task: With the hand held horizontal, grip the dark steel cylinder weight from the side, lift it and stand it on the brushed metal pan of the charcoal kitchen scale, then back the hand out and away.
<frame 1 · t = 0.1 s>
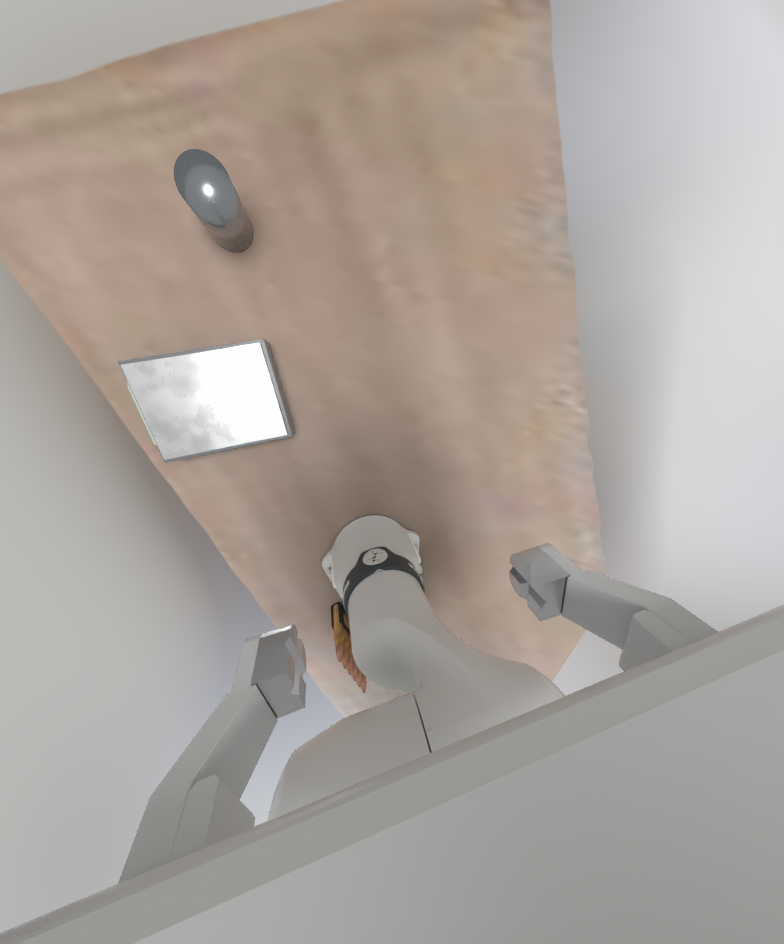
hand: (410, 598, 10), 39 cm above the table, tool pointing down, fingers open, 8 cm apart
ammunition clip: (347, 620, 58), on the table
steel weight: (231, 228, 36), on the table
kitchen scale: (223, 400, 41), on the table
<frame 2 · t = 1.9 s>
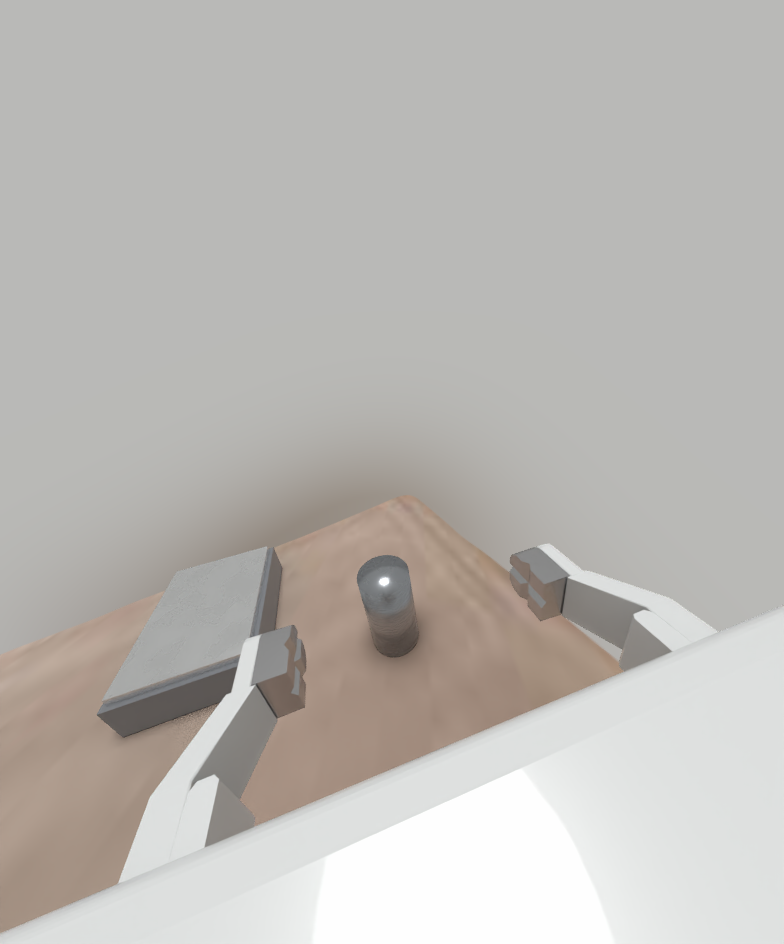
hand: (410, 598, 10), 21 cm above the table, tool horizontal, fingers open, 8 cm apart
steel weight: (395, 633, 31), on the table
kitchen scale: (222, 631, 35), on the table
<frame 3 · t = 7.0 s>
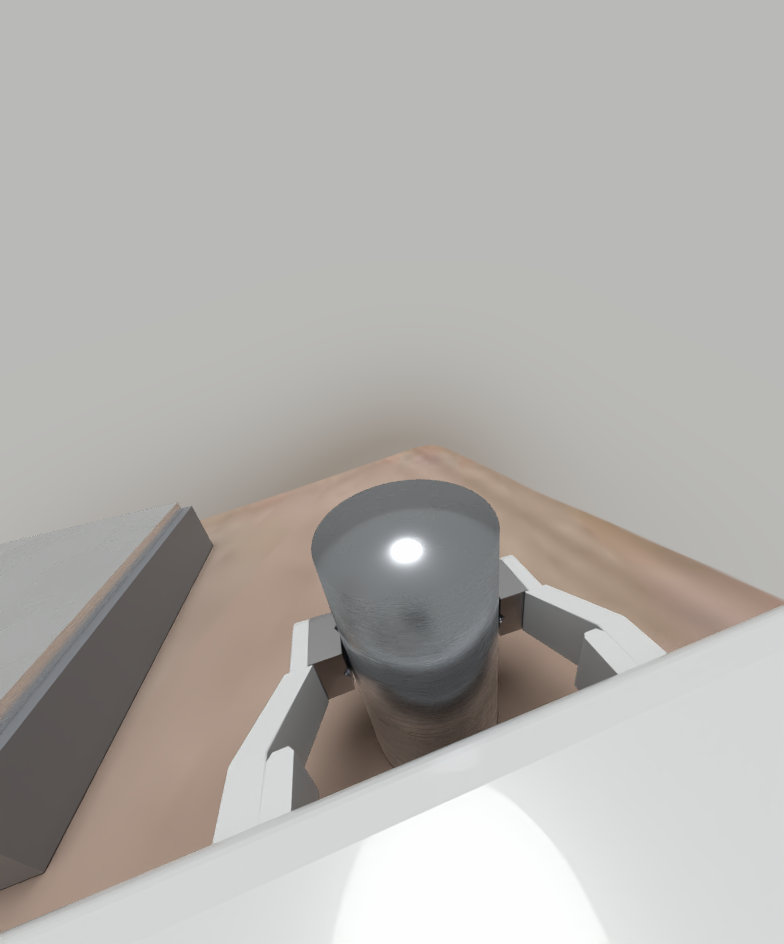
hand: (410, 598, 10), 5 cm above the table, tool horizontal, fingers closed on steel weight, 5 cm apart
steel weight: (432, 701, 12), on the table, touching gripper
kitchen scale: (39, 673, 16), on the table
when the fingers open (11 cm above the table, at t = 13.6 s): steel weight stays where it is, resting on kitchen scale.
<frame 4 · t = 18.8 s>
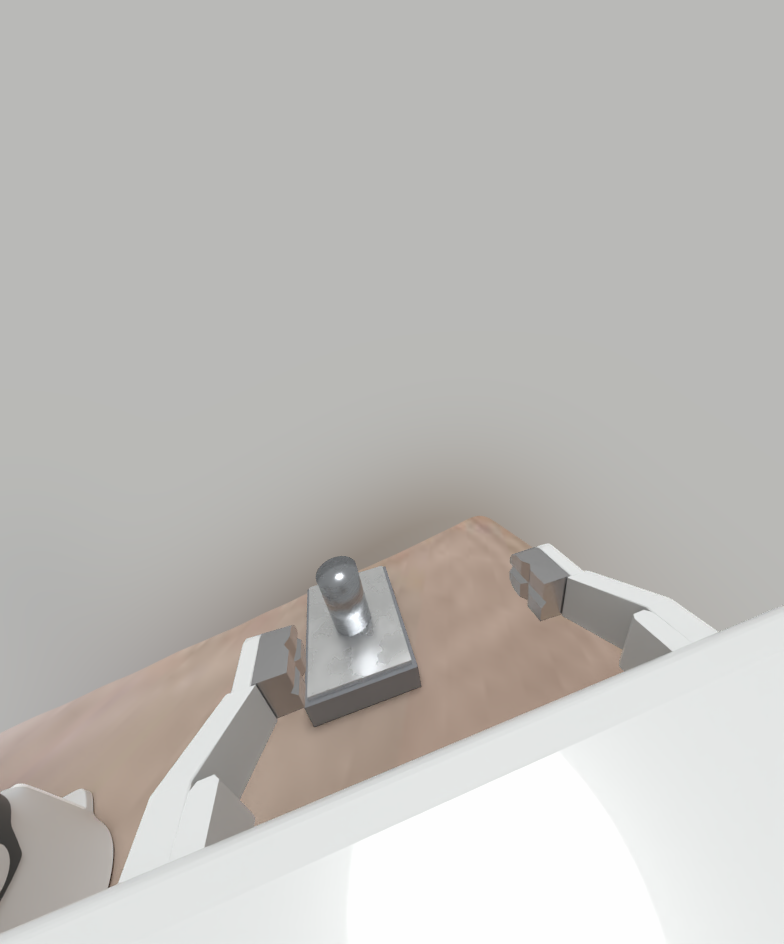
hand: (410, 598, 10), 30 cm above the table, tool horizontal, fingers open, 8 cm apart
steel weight: (352, 618, 39), point 5 cm above the table, touching kitchen scale
kitchen scale: (359, 640, 41), on the table
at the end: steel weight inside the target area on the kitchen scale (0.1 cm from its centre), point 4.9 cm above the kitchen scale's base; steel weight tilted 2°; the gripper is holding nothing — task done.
